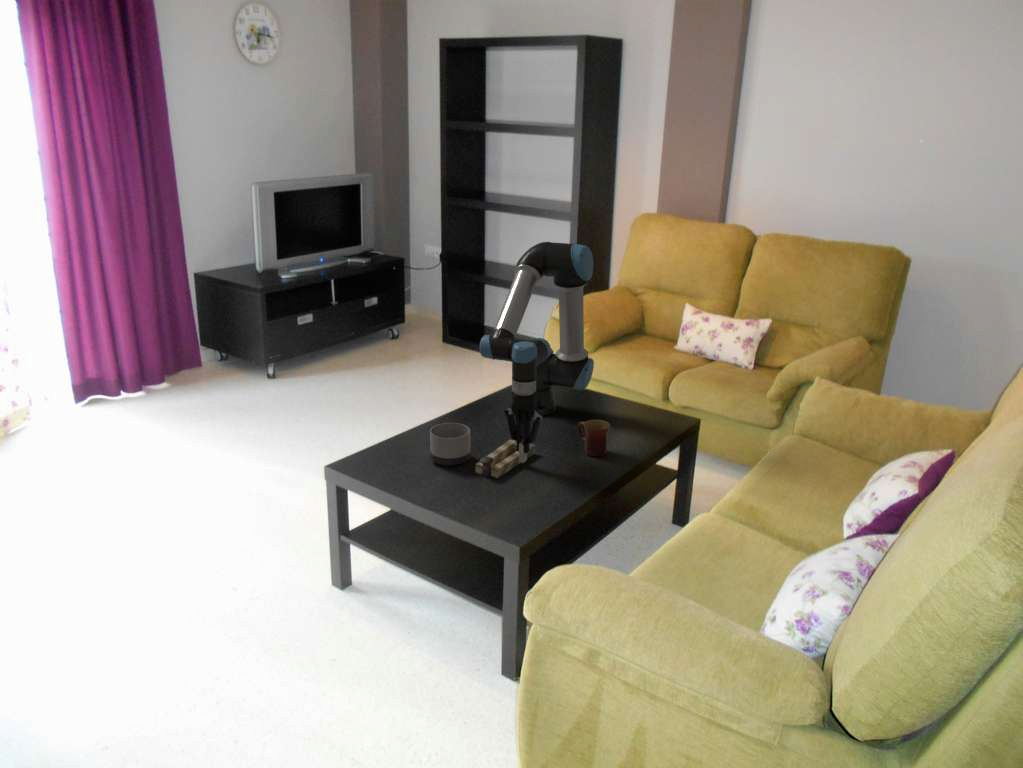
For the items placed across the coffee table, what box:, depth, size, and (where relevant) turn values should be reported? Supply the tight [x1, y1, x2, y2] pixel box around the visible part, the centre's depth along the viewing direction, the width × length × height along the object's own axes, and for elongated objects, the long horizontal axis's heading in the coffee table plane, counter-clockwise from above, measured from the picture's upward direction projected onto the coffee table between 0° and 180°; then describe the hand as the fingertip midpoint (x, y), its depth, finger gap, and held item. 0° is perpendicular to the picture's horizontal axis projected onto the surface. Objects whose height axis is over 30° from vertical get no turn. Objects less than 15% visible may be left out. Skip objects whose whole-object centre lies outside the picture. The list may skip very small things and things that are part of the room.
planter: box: [429, 422, 471, 467], centre depth 269 cm, size 13×13×10 cm
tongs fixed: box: [474, 439, 517, 478], centre depth 268 cm, size 24×6×6 cm, turn 151°
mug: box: [577, 419, 612, 458], centre depth 276 cm, size 12×9×10 cm
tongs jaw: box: [490, 443, 536, 479], centre depth 267 cm, size 22×2×3 cm, turn 147°
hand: (522, 461), depth 266 cm, fingers closed
